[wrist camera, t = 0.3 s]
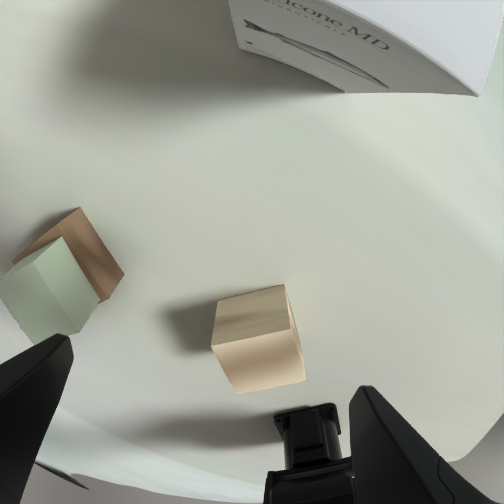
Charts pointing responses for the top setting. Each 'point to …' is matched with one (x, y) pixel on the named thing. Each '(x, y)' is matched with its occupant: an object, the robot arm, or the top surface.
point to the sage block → (48, 293)
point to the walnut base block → (83, 252)
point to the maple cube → (258, 340)
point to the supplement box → (376, 41)
